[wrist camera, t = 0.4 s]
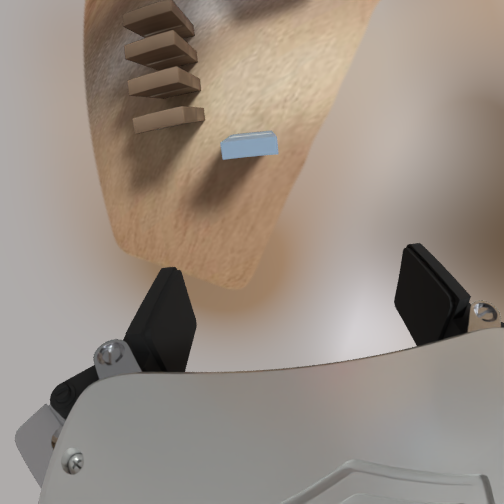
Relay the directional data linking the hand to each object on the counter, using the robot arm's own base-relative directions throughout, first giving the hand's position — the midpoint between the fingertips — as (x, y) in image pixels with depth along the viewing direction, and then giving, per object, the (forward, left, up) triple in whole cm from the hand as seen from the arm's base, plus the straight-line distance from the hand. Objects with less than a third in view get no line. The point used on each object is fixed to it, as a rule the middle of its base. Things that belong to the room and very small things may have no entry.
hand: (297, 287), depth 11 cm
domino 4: (-8, -10, -26) cm, 29 cm away
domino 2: (-16, -10, -26) cm, 32 cm away
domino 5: (-4, -2, -26) cm, 26 cm away
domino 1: (-20, -10, -26) cm, 34 cm away
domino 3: (-12, -10, -26) cm, 30 cm away
